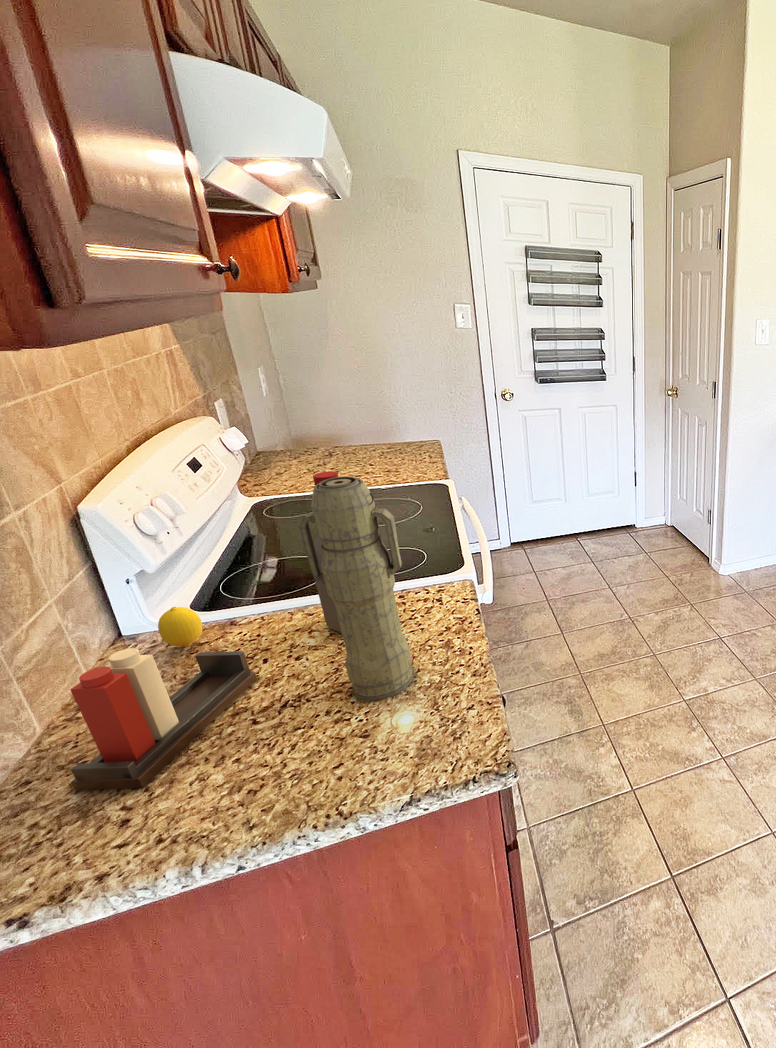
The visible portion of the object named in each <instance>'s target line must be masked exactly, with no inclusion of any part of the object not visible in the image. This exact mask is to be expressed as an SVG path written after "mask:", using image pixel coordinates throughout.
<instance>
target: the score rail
mask: <svg viewBox="0 0 776 1048" xmlns="http://www.w3.org/2000/svg"><path fill="white" fill-rule="evenodd" d="M195 659H196V662H197V665H198V667H199V670H200V672H198V673H197V674H196V675H195V676H194V677H193V678H191V679H190V680H188V681H187V682H186V683H185V684H184V685H182V687H180V688H179V689H178V690H177V691H175V692H174V693H173V694H172V695H170V696H169V698H170V700H171V703H172V706H173V708H174V711H175V713H176V716H177V718H178V721H179V723H178V724H177V725H176V726H175V727H174V728H173V729H172V730H171V731H169V732H168V733H167V734H166V735H165V736H164V737H163V738H162V739H160V740H154V741H155V743H156V744H155V745H154V746H153V747H151V748H150V749H149V750H148V751H147V752H146V753H145V754H144V755H142V756H141V757H140V758H139V759H138V760H137V761H136V762H135V763H134V761H131V762H107V763H105V762H104V760H103V758H102V756H101V754H100V753H99V754H98V755H97V756H96V757H95V758H94V759H92V760H91V761H90V762H85V763H77V764H76V765H74V766H73V767H72V768H71V769H70V771H71V772H72V775H73V776H74V778H73V780H71V781H70V783H71V786H72V787H73V789H74V791H95V790H96V791H97V790H98V791H99V790H117V789H120V790H121V789H140V788H144V787H145V786H146V785H148V783H149V782H150V781H152V779H153V778H154V777H156V775H158V774H159V773H160V772H161V771H162V770H163V769H164V768H165V767H166V766H167V765H168V764H169V763H170V762H171V761H172V760H173V759H174V758H176V757H177V756H178V755H179V754H180V753H181V752H182V751H183V750H184V749H186V747H187V746H188V745H189V744H191V742H192V741H193V740H195V738H196V737H197V736H199V735H200V734H201V733H202V732H203V731H204V730H205V729H206V728H207V727H208V726H209V725H210V724H212V723H213V722H214V720H216V719H217V718H218V717H219V716H220V715H221V714H222V713H223V712H224V711H225V710H227V708H229V706H230V705H231V704H232V703H233V702H234V701H236V700H237V699H238V698H239V697H240V696H241V695H242V694H243V693H244V692H245V691H246V690H247V689H249V687H250V686H251V685H252V684H254V683H255V682H256V681H257V679H258V676H257V675H256V672H255V671H251V670H250V666H249V664H248V661H247V657H246V654H245V651H244V650H238V651H237V650H236V651H234V650H233V651H232V650H231V651H200V652H199V653H196V655H195Z"/></svg>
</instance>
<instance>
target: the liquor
mask: <svg viewBox="0 0 776 1048" xmlns="http://www.w3.org/2000/svg"><path fill="white" fill-rule="evenodd" d="M336 477H339V473H338V472H337V471H331V470H330V471H321V472H318V473H314V474H313V475H312V479H313V483H314V486H315V485H317V484H319V483H320V482H322V481H324V480H327V479H330V478H336ZM313 544H314V548H315V552H316V556H317V560H318V564H319V567H320V573H321V572H322V568H321V561H322V554H323V551H322V547H321V545H322V540H321V539H320V537H319V535H318V534H317V536H316V537H315V538H314V539H313ZM314 583H315V586H316V590H317V594H318V597H319V601H320V605H321V609H322V612H323V616H324V620H325V624H326V627H328V628H329V629H330V630H333V631H335V632H338V633H340V634H342V632H341V628H340V624H339V620H338V616H337V612H336V608H335V604H334V602H333V601H332V600H331V599H330V597H329V595H328V592H327V588H326V584H323V583H322V580H321V581H315V580H314Z"/></svg>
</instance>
